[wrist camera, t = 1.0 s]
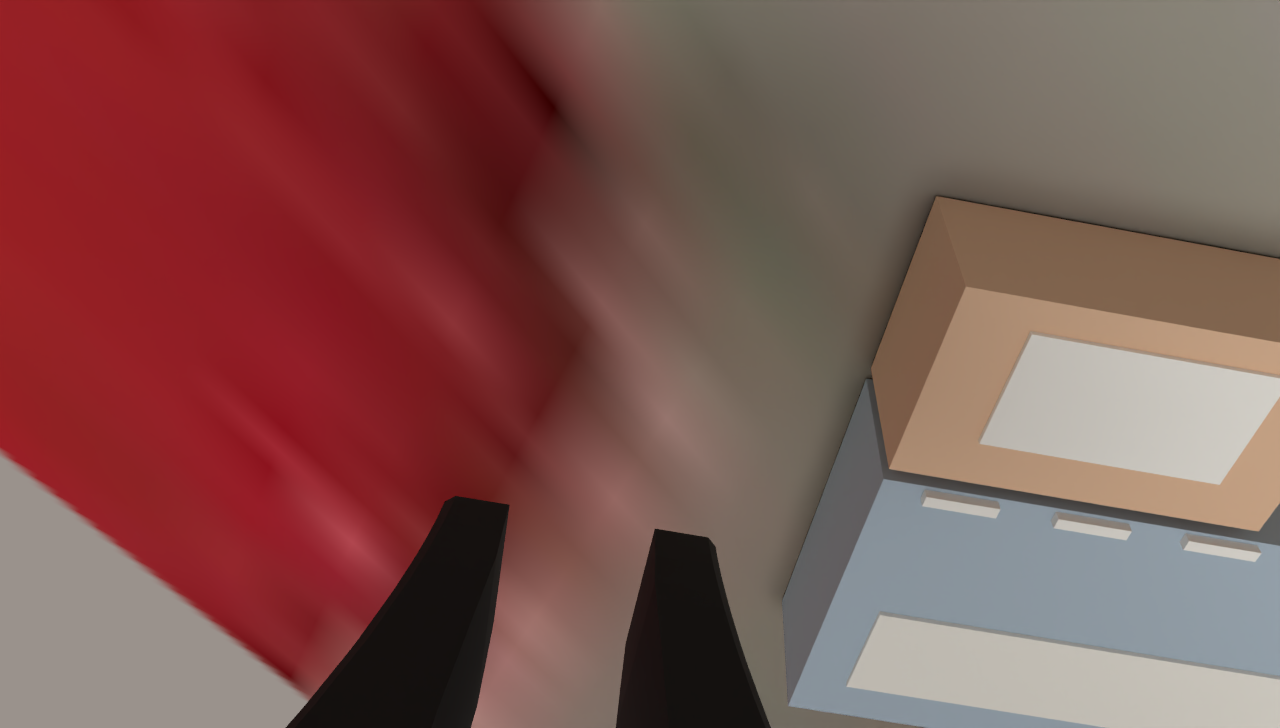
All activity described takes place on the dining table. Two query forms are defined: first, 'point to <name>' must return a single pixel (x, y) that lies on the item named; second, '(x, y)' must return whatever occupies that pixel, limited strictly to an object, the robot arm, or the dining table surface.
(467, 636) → the robot arm
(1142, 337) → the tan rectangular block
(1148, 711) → the pad
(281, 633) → the dining table surface
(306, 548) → the dining table surface
